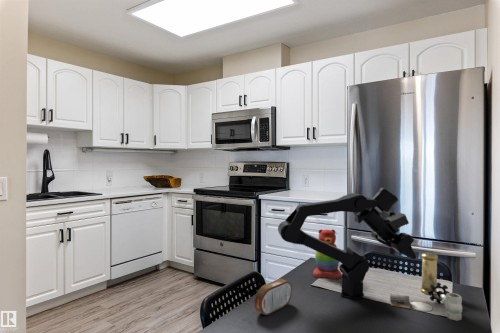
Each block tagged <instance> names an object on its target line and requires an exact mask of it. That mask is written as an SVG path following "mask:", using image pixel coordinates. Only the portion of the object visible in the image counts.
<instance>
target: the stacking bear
mask: <svg viewBox="0 0 500 333" xmlns="http://www.w3.org/2000/svg"><path fill="white" fill-rule="evenodd" d="M318 239H320V240H322V241H324V242H326V243H328V244H330V245H333V246H335V247H337V248H338V246H337V245H336V244H335V242H336V240H337V236H336V230H335V229H319V230H318ZM314 256H315V258H314V259H315V263H316V268H315V269H314V270H313V272H312V275H313V277H314V278H320V279H321V278H329V279H334V280H340V279H342V272H341V271H340V269H339V264H340V262H339V261H337V260H335V259H333V258H331V257H328V256H326V255H324V254H322V253H320V252H318V251H315V255H314Z"/></svg>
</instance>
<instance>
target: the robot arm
mask: <svg viewBox="0 0 500 333" xmlns="http://www.w3.org/2000/svg"><path fill="white" fill-rule="evenodd" d="M398 202H399V198H398V197H397V196H396V195H395V194H393V193H392V192H390V191H389V190H387V189H386V187H380V188H379V189H378V191H377V192H376V193H375V194H374V195H373V196H372V197H366V196H364V195H363V194H359V193H355V192H353V193H352V192H351V193H348V194H346V195H342V196H341V197H339V198H335V199H330V200H325V201H317V202H310V203H300V204H298V205H297V206H296V207H295V209H294V210H293V211H292V212H291V213H290V214H289V215H288V216H287V217H286V219H285V220H284V221H281V222H280V223H279V224H278V227H277V231H278V235H279V236H280V237H281V239H282V240H283V241H284V242H287V243H290V244H295V245H301V246H305V247H307V248H309V249H312V250H313V251H315V252H316V251H318V252H320V253H322V254H324V255H326V256H328V257H331V258H333V259H335V260H337V261H339V263H341V264H340V265H338V269H339V271H340V272H341V276H342V277H341V291H340V297H344V298H350V299H357V300H362V296H364V280H365V277H366V275H367V273H368V271H369V269H370V262H369V261H368V259H366V256H365V255H364V254H362V253H361V252H359V251H358V250H354V249H352V248H350V247H349V246H347V247H346V249H341V248H338V246H337V247H335V246H333V245H330V244H328V243H326V242H324V241H322V240H320V239H319V237H318V238H317V237H315V236H314V235H311V234H309V233H306V232H305V231H304V230H302V229H301V228H303V225H304V224H305V222H306V219H307V218H308V217H310V216H311V217H312V216H317V215H318V216H319V215H324V214H330V213H331V214H332V213H337V212H344V213H345V212H347V213H348V212H349V213H355V214H354V222H355V223H358V224H361V223H362V222H363V223H364V224H365V225H366V226H367V227H368V228H369V230H370V231H371V233H370V235H371V238H373V239H374V240H375V241H377V242H379V243H381V244H382V245H384V246H388V247H389V248H390V249H393V250H394V251H395V252H397V253H398V254H401V255H404V256H405V257H408V258H410V259H412V260H416V259H417V255H416V253H415V251H414V250H413V246H412V244H413V242H414V241H415V239H414V237H413V236H412V235H411V234H408V233H406V232H400V233H398V232H399V231H400V229H399V228H401V227H403V226H407V225H409V224H410V222H409V219H408V217H407V215H406V214H405V213H401V212H394V211H390V210H391V209H392V208H393V207H394V206H395V205H396V203H398ZM383 213H386V218H385V217H384V216H382V214H383Z"/></svg>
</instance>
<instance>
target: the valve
mask: <svg viewBox="0 0 500 333" xmlns="http://www.w3.org/2000/svg"><path fill="white" fill-rule="evenodd" d="M430 287H431V288H432V289H431V291H430V290H428V291H427V293H428V294H429V295H428V296H430V297H429V300H431V301H432V302H434V301H435V302H436V303H437V304H438V305H439V304H443V305H444V307H445V309H446V310H445V317H447V319H449V320H453V321H455V322H456V321H461V320H462V318H463V316H462V312H463V305H462V302H463V301H462V300H463V298H462V296H461V295H460V294H459V293H454V292H450V291H448V287H449V286H448V285H446V284H444V285H442V284H441V283H440V282H439V281H437V283H436V286H434V285H432V284H431V285H430ZM436 288H437V291H435V289H436ZM440 289H441V290H440ZM433 292H435V293H436V295H434V294H433ZM430 294H431V295H430Z"/></svg>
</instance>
